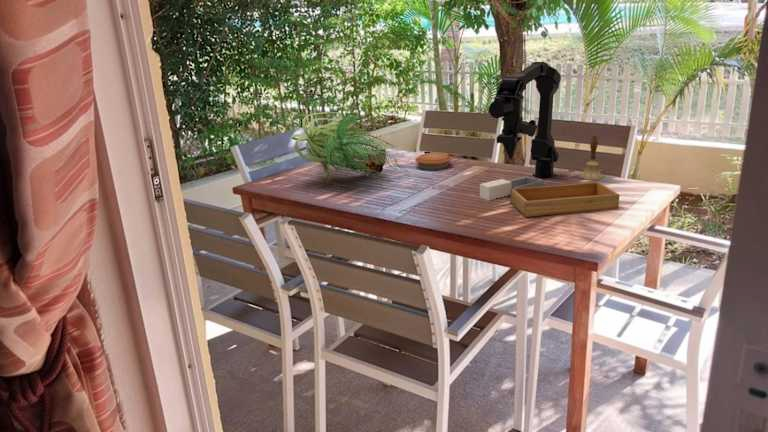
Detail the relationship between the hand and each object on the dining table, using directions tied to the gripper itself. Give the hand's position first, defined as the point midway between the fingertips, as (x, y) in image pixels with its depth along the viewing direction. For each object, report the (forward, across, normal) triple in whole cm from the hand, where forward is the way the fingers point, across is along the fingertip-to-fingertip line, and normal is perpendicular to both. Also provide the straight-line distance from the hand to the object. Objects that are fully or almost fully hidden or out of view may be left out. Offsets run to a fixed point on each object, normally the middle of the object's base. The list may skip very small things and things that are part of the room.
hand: (511, 158), depth 210 cm
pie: (+13, +29, +39) cm, 50 cm away
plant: (+13, 0, +61) cm, 63 cm away
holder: (+12, +4, -3) cm, 13 cm away
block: (+13, -4, +4) cm, 14 cm away
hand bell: (+12, +27, -25) cm, 38 cm away
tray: (+13, -10, -20) cm, 26 cm away
